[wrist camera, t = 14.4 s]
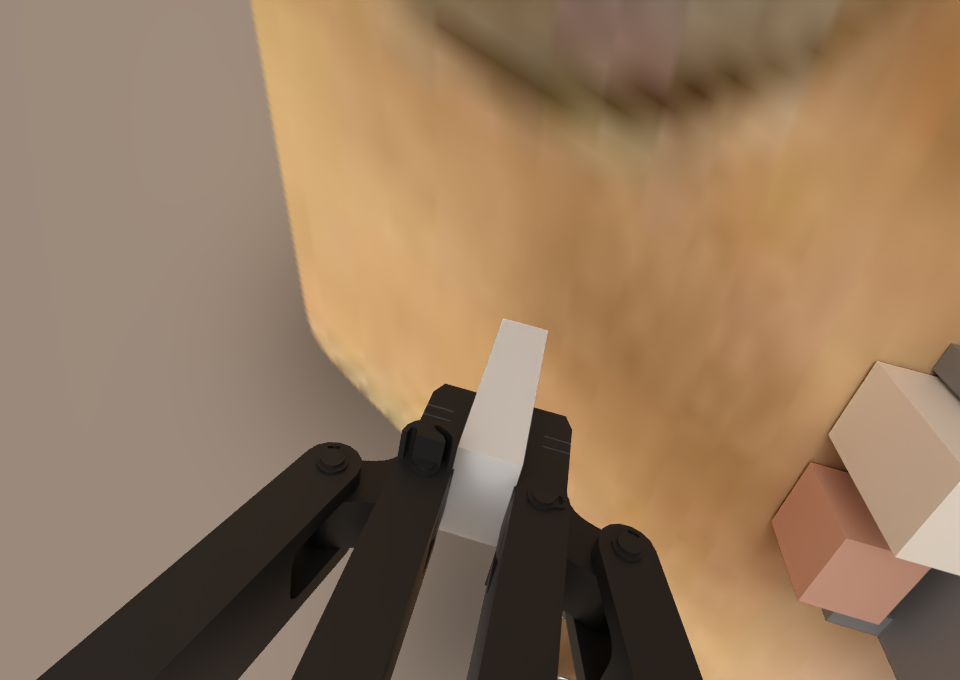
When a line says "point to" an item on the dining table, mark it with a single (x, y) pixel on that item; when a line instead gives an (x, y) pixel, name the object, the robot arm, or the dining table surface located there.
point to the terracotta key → (840, 549)
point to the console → (922, 603)
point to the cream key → (906, 461)
